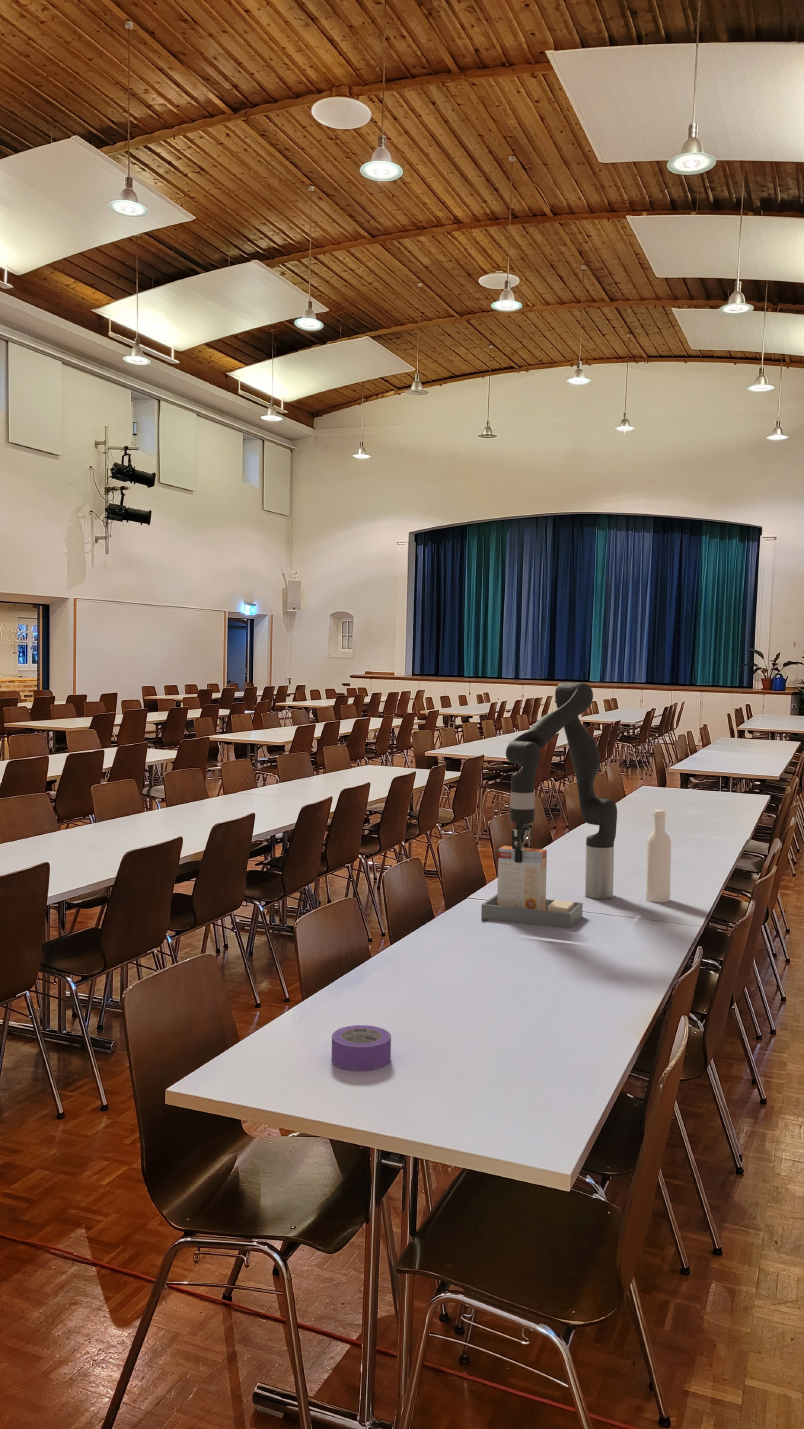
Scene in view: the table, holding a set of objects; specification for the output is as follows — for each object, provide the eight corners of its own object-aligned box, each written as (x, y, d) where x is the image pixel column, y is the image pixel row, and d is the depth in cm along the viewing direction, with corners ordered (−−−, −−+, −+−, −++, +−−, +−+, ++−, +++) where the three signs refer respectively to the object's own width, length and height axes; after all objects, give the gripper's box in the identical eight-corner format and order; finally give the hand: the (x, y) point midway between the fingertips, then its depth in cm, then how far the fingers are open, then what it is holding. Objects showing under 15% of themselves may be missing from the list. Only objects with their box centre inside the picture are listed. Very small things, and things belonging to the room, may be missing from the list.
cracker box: (546, 916, 308) (548, 849, 307) (539, 920, 303) (541, 852, 302) (503, 910, 314) (505, 844, 313) (496, 914, 309) (498, 847, 308)
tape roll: (390, 1048, 205) (390, 1024, 205) (391, 1071, 194) (391, 1046, 194) (332, 1048, 205) (332, 1024, 205) (330, 1072, 193) (330, 1046, 193)
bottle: (668, 897, 337) (670, 808, 336) (672, 903, 330) (674, 812, 328) (644, 896, 338) (645, 808, 337) (647, 902, 330) (649, 811, 329)
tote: (496, 909, 320) (496, 894, 319) (582, 918, 309) (582, 902, 308) (481, 920, 306) (481, 904, 306) (570, 930, 295) (570, 914, 295)
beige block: (555, 915, 309) (555, 899, 309) (574, 918, 307) (574, 901, 306) (547, 922, 301) (547, 906, 300) (566, 925, 298) (567, 908, 298)
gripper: (527, 810, 299) (527, 865, 300) (540, 804, 312) (540, 857, 313) (503, 808, 302) (502, 863, 303) (517, 802, 315) (516, 855, 316)
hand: (521, 860), depth 308 cm, fingers open, 6 cm apart
